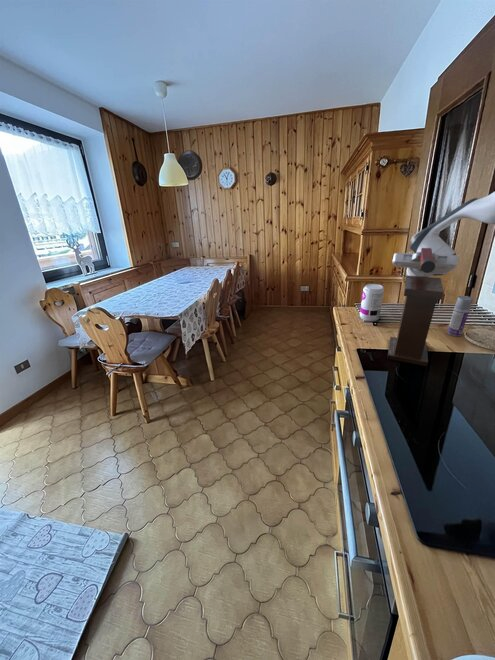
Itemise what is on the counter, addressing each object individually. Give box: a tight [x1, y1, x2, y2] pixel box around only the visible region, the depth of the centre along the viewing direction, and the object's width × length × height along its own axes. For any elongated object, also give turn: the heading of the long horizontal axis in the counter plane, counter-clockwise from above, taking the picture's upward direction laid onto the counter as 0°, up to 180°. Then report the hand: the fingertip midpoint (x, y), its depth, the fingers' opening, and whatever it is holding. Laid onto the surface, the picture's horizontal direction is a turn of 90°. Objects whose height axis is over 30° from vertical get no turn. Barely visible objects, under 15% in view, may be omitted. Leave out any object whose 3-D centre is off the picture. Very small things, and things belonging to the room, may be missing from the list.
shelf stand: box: [386, 275, 445, 367], centre depth 96 cm, size 14×12×26 cm
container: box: [446, 295, 474, 337], centre depth 108 cm, size 5×5×15 cm
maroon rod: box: [420, 248, 435, 273], centre depth 93 cm, size 22×4×4 cm, turn 152°
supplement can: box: [359, 283, 385, 322], centre depth 124 cm, size 8×8×15 cm
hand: (426, 254), depth 97 cm, fingers closed on maroon rod, 3 cm apart
